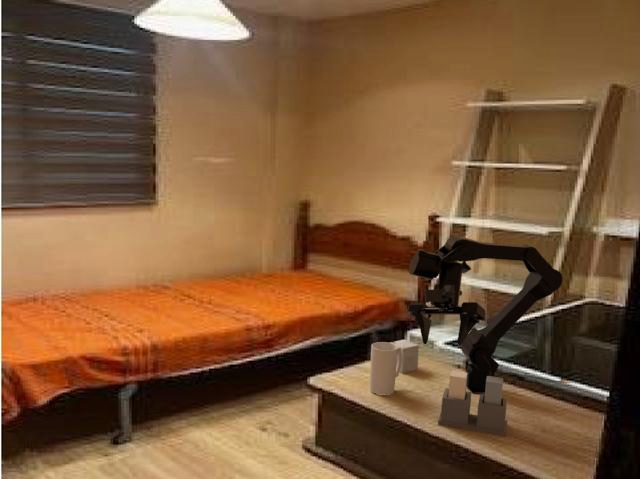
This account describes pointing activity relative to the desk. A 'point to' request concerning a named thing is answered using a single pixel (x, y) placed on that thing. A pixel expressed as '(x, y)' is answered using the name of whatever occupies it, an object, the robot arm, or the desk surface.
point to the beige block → (457, 385)
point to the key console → (484, 421)
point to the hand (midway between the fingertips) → (441, 344)
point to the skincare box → (408, 355)
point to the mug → (384, 367)
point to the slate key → (493, 390)
